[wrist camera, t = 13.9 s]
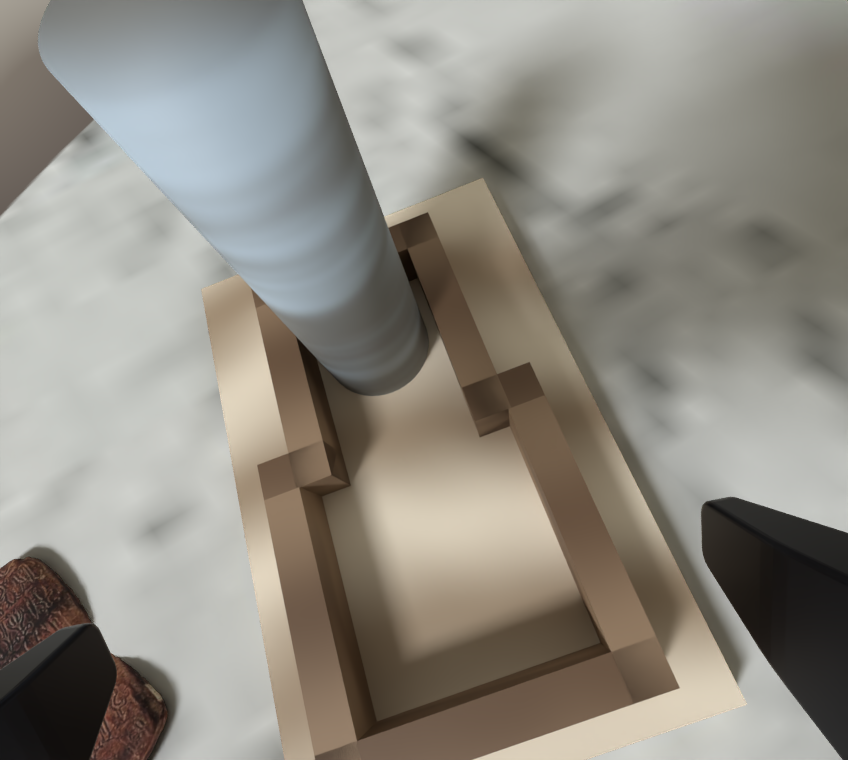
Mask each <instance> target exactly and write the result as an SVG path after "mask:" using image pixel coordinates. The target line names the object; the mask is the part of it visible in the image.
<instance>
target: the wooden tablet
mask: <svg viewBox="0 0 848 760" xmlns="http://www.w3.org/2000/svg"><path fill="white" fill-rule="evenodd" d="M84 623H91V621H90V619H89V617H88V615H87V613H86V611H85V609H84V607H83V606H82V605H81V603H80V601H79V598H77V596H76V595H75V594H74V592H73V591H72V589H71V588H70V587H68V586H67V584H65V583H64V582H63V580H62V579H61V578H60V577H59V576H58V574H57V573H55V572H54V571H53V570H52V569H51V568H50V567H48V566H47V565H46V564H44V563H43V562H42V561H41V560H39V559H36V558H31V557H26V558H25V559H14V560H12V561H10V562H9V563H7V564H6V565H4V566H3V567H2V568H1V569H0V669H2V668H3V667H5V666H6V665H8V664H9V663H11V662H12V661H14V660H15V659H17V658H18V657H20V656H21V655H23V654H24V653H25V652H27V651H28V650H30V649H31V648H33V647H34V646H36V645H37V644H39V643H40V642H42V641H43V640H45V639H46V638H48V637H49V636H51V635H52V634H53V633H55V632H56V631H58V630H60V629H62V628H64V627H69V626H74V625H79V624H84ZM111 655H112V657H113V659H114V661H115V664H116V668H117V679H116V684H115V687H114V690H113V693H112V696H111V699H110V702H109V705H108V708H107V711H106V714H105V717H104V720H103V723H102V726H101V729H100V732H99V735H98V738H97V741H96V744H95V747H94V750H93V752H92V755H91V758H90V760H147V758H148V757H149V755H150V754H151V752H152V750H153V748H154V746H155V744H156V742H157V739H158V737H159V735H160V733H161V732H162V730H163V728H164V725H165V722H166V720H167V710H166V707H165V702H164V701H163V699H162V696H161V694H160V693H158V692H157V691H156V690H155V689H154V688H153V687H152V686H151V684H150V683H149V682H148V681H147V680H146V679H145V678H144V677H142V676H141V675H140V674H139V673H138V672H137V671H136V670H134V669H133V668H132V667H131V666H129V665H128V664H126V663H125V662H123V661H122V660H121V659H120V658H118V657H115V656H114V655H113V654H112V653H111Z"/></svg>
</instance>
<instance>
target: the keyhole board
mask: <svg viewBox="0 0 848 760" xmlns="http://www.w3.org/2000/svg"><path fill="white" fill-rule="evenodd" d="M384 218H385V221H386V223H387V226H388V228H389V231H390V234H391V236H392V239H393V242H394V244H395V247H396V250H397V252H398V255H399V258H400V260H401V263H402V265H403V268H404V271H405V273H406V276H407V279H408V281H409V284H410V287H411V289H412V292H413V295H414V297H415V300H416V303H417V305H418V308H419V310H420V313H421V316H422V318H423V321H424V324H425V326H426V329H427V333H428V338H429V348H428V354H427V357H426V360H425V363H424V365H423V367H422V368H421V370H420V372H419V373H418V374H417V375H416V377H415V378H414V379H413V380H412V381H411V382H409V383H408V384H407V385H405V386H404V387H402V388H401V389H399V390H397V391H395V392H392V393H389V394H386V395H380V396H365V395H360V394H357V393H354V392H352V391H350V390H348V389H346V388H345V387H344V386H342V385H341V384H340V383H339V382H338V381H337V380H336V379H335V378H334V377H333V376H332V374H331V373H330V372H329V371H328V370H327V369H326V368H325V367H324V366H323V365H322V364H321V363H320V362H319V360H318V359H317V358H316V357H315V356H314V355H313V354H312V353H311V352H310V351H309V350H308V349H307V348H306V346H305V345H304V344H303V343H302V342H301V341H300V340H299V339H298V338H297V337H296V336H295V335H294V334H293V332H292V331H291V330H290V329H289V328H288V327H287V326H286V325H285V324H284V323H283V322H282V321H281V320H280V319H279V317H278V316H277V315H276V314H275V313H274V312H273V311H272V310H271V309H270V308H269V307H268V306H267V305H266V303H265V302H264V301H263V300H262V299H261V298H260V297H259V296H258V295H257V294H256V293H255V292H254V291H253V289H252V288H251V287H250V286H249V285H248V284H247V283H246V282H245V281H244V280H243V279H242V278H241V277H240V275H239V274H238V275H236V276H233V277H231V278H228V279H226V280H223V281H221V282H218V283H216V284H213V285H211V286H208V287H205V288H203V289H201V290H202V296H203V302H204V307H205V313H206V318H207V324H208V330H209V335H210V341H211V347H212V352H213V358H214V364H215V369H216V375H217V381H218V386H219V392H220V398H221V403H222V409H223V414H224V420H225V426H226V431H227V437H228V443H229V448H230V454H231V460H232V465H233V471H234V477H235V482H236V488H237V493H238V499H239V505H240V510H241V516H242V522H243V527H244V533H245V539H246V544H247V550H248V556H249V561H250V567H251V573H252V578H253V584H254V589H255V595H256V601H257V606H258V612H259V618H260V623H261V629H262V635H263V640H264V646H265V652H266V657H267V663H268V668H269V674H270V680H271V685H272V691H273V697H274V702H275V708H276V714H277V719H278V725H279V731H280V736H281V742H282V748H283V753H284V759H285V760H587V759H590V758H593V757H596V756H598V755H601V754H604V753H607V752H610V751H613V750H616V749H619V748H622V747H625V746H628V745H631V744H634V743H636V742H639V741H642V740H645V739H648V738H651V737H654V736H657V735H660V734H663V733H666V732H669V731H672V730H674V729H677V728H680V727H683V726H686V725H689V724H692V723H695V722H698V721H701V720H704V719H707V718H710V717H712V716H715V715H718V714H721V713H724V712H727V711H730V710H733V709H736V708H739V707H742V706H745V705H747V703H746V701H745V699H744V697H743V695H742V693H741V691H740V689H739V687H738V685H737V683H736V681H735V679H734V677H733V675H732V673H731V671H730V669H729V667H728V665H727V663H726V661H725V659H724V657H723V655H722V653H721V651H720V649H719V647H718V645H717V643H716V641H715V639H714V637H713V635H712V633H711V631H710V629H709V627H708V625H707V623H706V621H705V619H704V617H703V615H702V613H701V611H700V609H699V607H698V605H697V603H696V601H695V599H694V597H693V595H692V593H691V591H690V589H689V587H688V585H687V583H686V581H685V579H684V577H683V575H682V573H681V571H680V569H679V567H678V565H677V563H676V561H675V559H674V557H673V555H672V553H671V551H670V549H669V547H668V545H667V543H666V541H665V539H664V538H663V536H662V534H661V532H660V530H659V528H658V526H657V524H656V522H655V520H654V518H653V516H652V514H651V512H650V510H649V508H648V506H647V504H646V502H645V500H644V498H643V496H642V494H641V492H640V490H639V488H638V486H637V484H636V482H635V480H634V478H633V476H632V474H631V472H630V470H629V468H628V466H627V464H626V462H625V460H624V458H623V456H622V454H621V452H620V450H619V448H618V446H617V444H616V442H615V440H614V438H613V436H612V434H611V432H610V430H609V428H608V426H607V424H606V422H605V420H604V418H603V416H602V414H601V412H600V410H599V408H598V406H597V404H596V402H595V400H594V398H593V396H592V394H591V392H590V390H589V388H588V386H587V384H586V382H585V380H584V378H583V376H582V374H581V372H580V370H579V368H578V366H577V364H576V362H575V360H574V358H573V356H572V354H571V352H570V350H569V348H568V346H567V344H566V342H565V340H564V338H563V336H562V334H561V332H560V330H559V328H558V326H557V324H556V322H555V320H554V318H553V316H552V314H551V312H550V310H549V308H548V306H547V304H546V302H545V300H544V298H543V296H542V294H541V292H540V290H539V288H538V286H537V284H536V282H535V280H534V278H533V276H532V274H531V272H530V270H529V268H528V266H527V264H526V262H525V260H524V258H523V256H522V254H521V252H520V250H519V248H518V246H517V244H516V243H515V241H514V239H513V237H512V235H511V233H510V231H509V229H508V227H507V225H506V223H505V221H504V219H503V217H502V215H501V213H500V211H499V209H498V207H497V205H496V203H495V201H494V199H493V197H492V195H491V193H490V191H489V189H488V187H487V185H486V183H485V181H484V179H483V178H481V179H478V180H476V181H473V182H471V183H468V184H466V185H463V186H460V187H458V188H455V189H453V190H450V191H448V192H445V193H443V194H440V195H438V196H435V197H433V198H430V199H428V200H425V201H423V202H420V203H418V204H415V205H413V206H410V207H407V208H405V209H402V210H400V211H397V212H395V213H392V214H390V215H387V216H385V217H384Z"/></svg>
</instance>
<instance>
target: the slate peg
mask: <svg viewBox="0 0 848 760" xmlns="http://www.w3.org/2000/svg"><path fill="white" fill-rule="evenodd" d="M38 46H39V53H40V55H41V58H42V61H43V63H44V64H45V65H46V67H47V69H48V70H49V71H50V72H51V73H52V74H53V75H54V76H55V78H56V79H57V80H58V81H59V82H60V83H61V84H62V85H63V86H64V87H65V88H66V89H67V91H68V92H69V93H70V94H71V95H72V96H73V97H74V98H75V99H76V100H77V101H78V102H79V103H80V104H81V105H82V107H83V108H84V109H85V110H86V111H87V112H88V113H89V114H90V115H91V116H92V117H93V118H94V120H95V121H96V122H97V123H98V124H99V125H100V126H101V127H102V128H103V129H104V130H105V131H106V132H107V134H108V135H109V136H110V137H111V138H112V139H113V140H114V141H115V142H116V143H117V144H118V145H119V146H120V148H121V149H122V150H123V151H124V152H125V153H126V154H127V155H128V156H129V157H130V158H131V159H132V160H133V161H134V163H135V164H136V165H137V166H138V167H139V168H140V169H141V170H142V171H143V172H144V173H145V174H146V175H147V177H148V178H149V179H150V180H151V181H152V182H153V183H154V184H155V185H156V186H157V187H158V188H159V189H160V191H161V192H162V193H163V194H164V195H165V196H166V197H167V198H168V199H169V200H170V201H171V202H172V203H173V205H174V206H175V207H176V208H177V209H178V210H179V211H180V212H181V213H182V214H183V215H184V216H185V217H186V218H187V220H188V221H189V222H190V223H191V224H192V225H193V226H194V227H195V228H196V229H197V230H198V231H199V232H200V234H201V235H202V236H203V237H204V238H205V239H206V240H207V241H208V242H209V243H210V244H211V245H212V246H213V248H214V249H215V250H216V251H217V252H218V253H219V254H220V255H221V256H222V257H223V258H224V259H225V260H226V262H227V263H228V264H229V265H230V266H231V267H232V268H233V269H234V270H235V271H236V272H237V273H238V274H239V275H240V277H241V278H242V279H243V280H244V281H245V282H246V283H247V284H248V285H249V286H250V287H251V288H252V289H253V291H254V292H255V293H256V294H257V295H258V296H259V297H260V298H261V299H262V300H263V301H264V302H265V303H266V305H267V306H268V307H269V308H270V309H271V310H272V311H273V312H274V313H275V314H276V315H277V316H278V317H279V319H280V320H281V321H282V322H283V323H284V324H285V325H286V326H287V327H288V328H289V329H290V330H291V331H292V332H293V334H294V335H295V336H296V337H297V338H298V339H299V340H300V341H301V342H302V343H303V344H304V345H305V346H306V348H307V349H308V350H309V351H310V352H311V353H312V354H313V355H314V356H315V357H316V358H317V359H318V360H319V362H320V363H321V364H322V365H323V366H324V367H325V368H326V369H327V370H328V371H329V372H330V373H331V374H332V376H333V377H334V378H335V379H336V380H337V381H338V382H339V383H340V384H341V385H342V386H344V387H345V388H346V389H348V390H350V391H352V392H354V393H357V394H360V395H365V396H380V395H386V394H389V393H392V392H395V391H397V390H399V389H401V388H402V387H404V386H405V385H407V384H408V383H409V382H411V381H412V380H413V379H414V378H415V377H416V375H417V374H418V373H419V372H420V370H421V368H422V367H423V365H424V363H425V360H426V357H427V354H428V348H429V338H428V333H427V329H426V326H425V324H424V321H423V318H422V316H421V313H420V310H419V308H418V305H417V303H416V300H415V297H414V295H413V292H412V289H411V287H410V284H409V281H408V279H407V276H406V273H405V271H404V268H403V265H402V263H401V260H400V258H399V255H398V252H397V250H396V247H395V244H394V242H393V239H392V236H391V234H390V231H389V228H388V226H387V223H386V221H385V218H384V215H383V213H382V210H381V207H380V205H379V202H378V199H377V197H376V194H375V191H374V189H373V186H372V183H371V181H370V178H369V176H368V173H367V170H366V168H365V165H364V162H363V160H362V157H361V154H360V152H359V149H358V146H357V144H356V141H355V138H354V136H353V133H352V131H351V128H350V125H349V123H348V120H347V117H346V115H345V112H344V109H343V107H342V104H341V101H340V99H339V96H338V93H337V91H336V88H335V86H334V83H333V80H332V78H331V75H330V72H329V70H328V67H327V64H326V62H325V59H324V56H323V54H322V51H321V49H320V46H319V43H318V41H317V38H316V35H315V33H314V30H313V27H312V25H311V22H310V19H309V17H308V14H307V11H306V9H305V6H304V4H303V1H302V0H51V1H50V2H49V4H48V6H47V8H46V10H45V12H44V15H43V17H42V20H41V24H40V28H39V35H38Z"/></svg>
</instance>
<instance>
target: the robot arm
mask: <svg viewBox="0 0 848 760" xmlns="http://www.w3.org/2000/svg"><path fill="white" fill-rule="evenodd" d="M701 525H702V551H703V556H704V559H705V562H706V564H707V566H708V568H709V569H710V571H711V572H712V574H713V576H714V577H715V579H716V580H717V582H718V584H719V585H720V587H721V588H722V590H723V591H724V593H725V595H726V596H727V598H728V599H729V601H730V603H731V604H732V606H733V607H734V609H735V611H736V612H737V614H738V615H739V617H740V618H741V620H742V622H743V623H744V625H745V626H746V628H747V630H748V631H749V633H750V634H751V636H752V638H753V639H754V641H755V642H756V644H757V646H758V647H759V649H760V650H761V652H762V653H763V655H764V656H765V658H766V659H767V661H768V662H769V664H770V665H771V666H772V668H773V669H774V671H775V672H776V673H777V675H778V676H779V677H780V679H781V680H782V681H783V683H784V684H785V685H786V687H787V688H788V689H789V691H790V692H791V693H792V694H793V696H794V697H795V698H796V700H797V701H798V702H799V704H800V705H801V706H802V707H803V709H804V710H805V711H806V713H807V714H808V715H809V717H810V718H811V719H812V720H813V722H814V723H815V724H816V726H817V727H818V728H819V730H820V731H821V732H822V733H823V735H824V736H825V737H826V739H827V740H828V741H829V743H830V744H831V745H832V746H833V748H834V749H835V750H836V752H837V753H838V754H839V756H840V757H841V758H842V759H843V760H848V533H846V532H843V531H840V530H837V529H834V528H830V527H827V526H824V525H821V524H818V523H815V522H811V521H808V520H805V519H802V518H799V517H796V516H793V515H789V514H786V513H783V512H780V511H777V510H774V509H770V508H767V507H764V506H761V505H758V504H755V503H752V502H748V501H745V500H742V499H739V498H736V497H726V498H721V499H716V500H711V501H707V502H705V503H704V504H703V506H702V510H701ZM116 679H117V668H116V664H115V661H114V659H113V657H112V655H111V653H110V651H109V649H108V647H107V644H106V642H105V640H104V638H103V636H102V634H101V632H100V630H99V628H98V627H97V626H96V625H94V624H92V623H84V624H79V625H74V626H69V627H64V628H62V629H60V630H58V631H56V632H55V633H53V634H52V635H51V636H49V637H48V638H46V639H45V640H43V641H42V642H40V643H39V644H37V645H36V646H34V647H33V648H31V649H30V650H28V651H27V652H25V653H24V654H23V655H21V656H20V657H18V658H17V659H15V660H14V661H12V662H11V663H9V664H8V665H6V666H5V667H3V668H2V669H0V760H90V758H91V755H92V752H93V750H94V747H95V744H96V741H97V738H98V735H99V732H100V729H101V726H102V723H103V720H104V717H105V714H106V711H107V708H108V705H109V702H110V699H111V696H112V693H113V690H114V687H115V684H116Z"/></svg>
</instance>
